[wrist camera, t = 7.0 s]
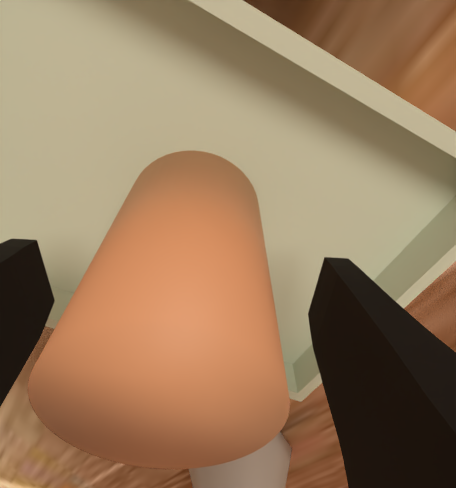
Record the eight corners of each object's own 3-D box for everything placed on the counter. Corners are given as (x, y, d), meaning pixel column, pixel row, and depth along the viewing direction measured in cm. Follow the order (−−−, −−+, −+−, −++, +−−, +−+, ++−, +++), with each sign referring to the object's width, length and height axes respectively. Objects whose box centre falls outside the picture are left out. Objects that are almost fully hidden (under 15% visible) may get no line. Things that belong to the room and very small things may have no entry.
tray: (483, 153, 11) (539, 183, 9) (292, 355, 18) (301, 401, 15) (-31, -163, 7) (-130, -230, 5) (-48, 242, 14) (-98, 284, 11)
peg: (265, 153, 10) (311, 328, 5) (253, 266, 13) (273, 471, 7) (121, 147, 10) (-14, 319, 5) (137, 262, 13) (62, 467, 7)
